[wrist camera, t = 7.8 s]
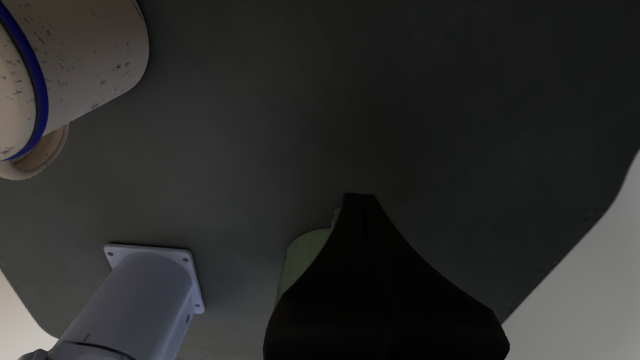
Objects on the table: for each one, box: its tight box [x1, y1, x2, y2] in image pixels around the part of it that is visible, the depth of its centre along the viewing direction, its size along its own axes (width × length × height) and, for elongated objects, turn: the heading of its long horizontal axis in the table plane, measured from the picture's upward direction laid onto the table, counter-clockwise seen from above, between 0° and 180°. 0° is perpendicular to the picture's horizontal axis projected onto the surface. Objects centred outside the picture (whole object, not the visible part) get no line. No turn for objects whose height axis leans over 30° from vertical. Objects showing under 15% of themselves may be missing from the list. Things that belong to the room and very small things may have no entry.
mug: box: [274, 208, 341, 309], centre depth 24 cm, size 12×9×8 cm
